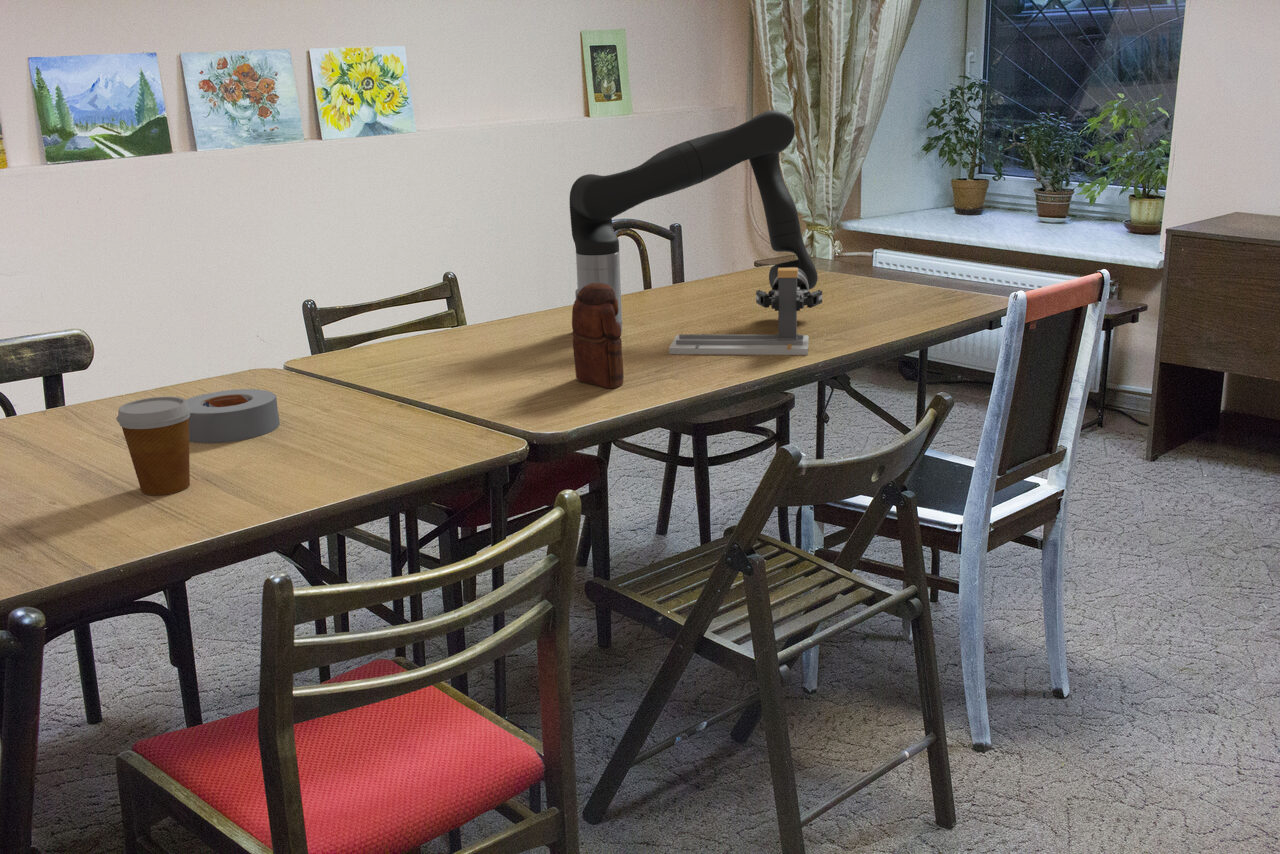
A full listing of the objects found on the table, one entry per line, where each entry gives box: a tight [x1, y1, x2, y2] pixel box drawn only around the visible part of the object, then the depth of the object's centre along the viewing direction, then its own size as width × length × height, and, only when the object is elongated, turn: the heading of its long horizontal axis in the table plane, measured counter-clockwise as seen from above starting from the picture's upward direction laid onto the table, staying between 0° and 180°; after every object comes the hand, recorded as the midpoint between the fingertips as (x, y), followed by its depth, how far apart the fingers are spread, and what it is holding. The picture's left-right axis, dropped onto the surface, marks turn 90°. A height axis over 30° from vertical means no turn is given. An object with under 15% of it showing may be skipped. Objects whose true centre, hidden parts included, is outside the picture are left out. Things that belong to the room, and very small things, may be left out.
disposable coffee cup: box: [116, 396, 191, 496], centre depth 160 cm, size 10×10×12 cm
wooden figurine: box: [571, 283, 625, 389], centre depth 208 cm, size 12×6×18 cm, turn 43°
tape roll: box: [185, 388, 281, 444], centre depth 188 cm, size 15×15×5 cm
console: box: [668, 333, 810, 356], centre depth 233 cm, size 27×13×2 cm, turn 81°
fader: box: [777, 268, 799, 340], centre depth 229 cm, size 4×4×14 cm
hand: (787, 305), depth 226 cm, fingers closed on fader, 3 cm apart
